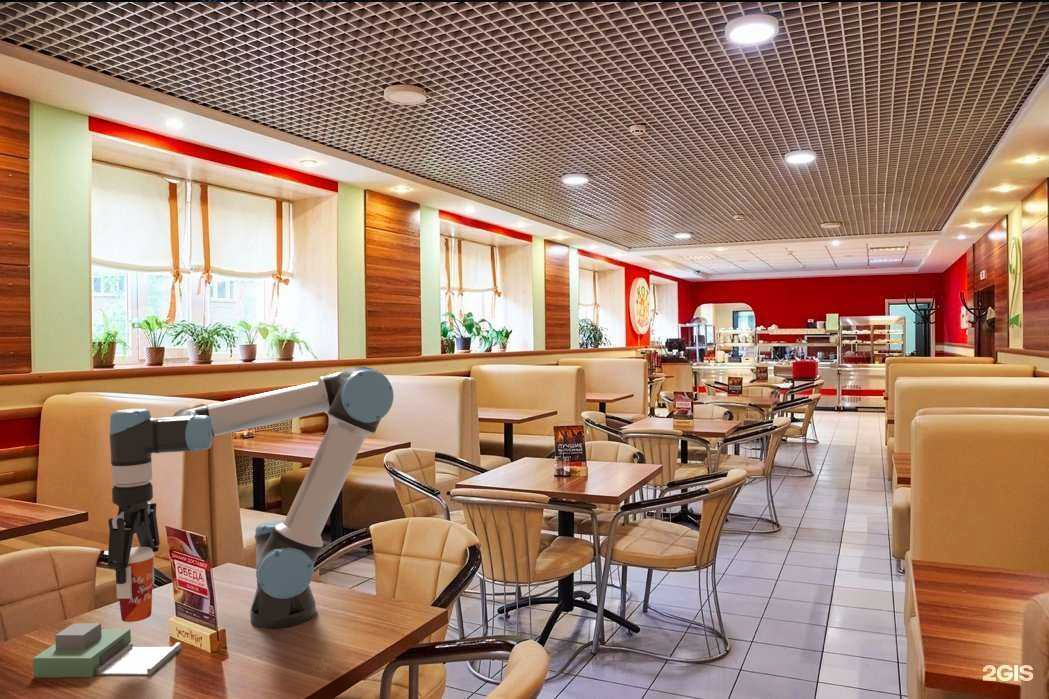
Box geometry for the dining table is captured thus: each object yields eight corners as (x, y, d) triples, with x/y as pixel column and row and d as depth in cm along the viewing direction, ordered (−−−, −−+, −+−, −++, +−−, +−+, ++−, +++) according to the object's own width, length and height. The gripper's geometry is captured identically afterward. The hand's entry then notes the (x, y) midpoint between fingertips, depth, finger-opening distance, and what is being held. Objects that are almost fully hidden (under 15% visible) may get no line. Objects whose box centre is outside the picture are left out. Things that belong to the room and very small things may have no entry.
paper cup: (139, 625, 151) (137, 558, 150) (107, 622, 152) (104, 556, 152) (165, 610, 159) (163, 546, 158) (134, 608, 160) (131, 544, 160)
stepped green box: (132, 646, 163) (130, 615, 163) (92, 677, 149) (91, 643, 149) (78, 646, 164) (77, 615, 163) (33, 677, 150) (32, 643, 149)
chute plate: (180, 648, 162) (180, 642, 162) (150, 675, 150) (150, 668, 150) (129, 648, 162) (129, 642, 162) (95, 675, 150) (95, 668, 150)
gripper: (142, 472, 165) (146, 573, 166) (83, 494, 144) (87, 609, 145) (175, 472, 164) (178, 573, 165) (120, 494, 144) (125, 609, 145)
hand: (136, 590), depth 155 cm, fingers closed on paper cup, 8 cm apart
